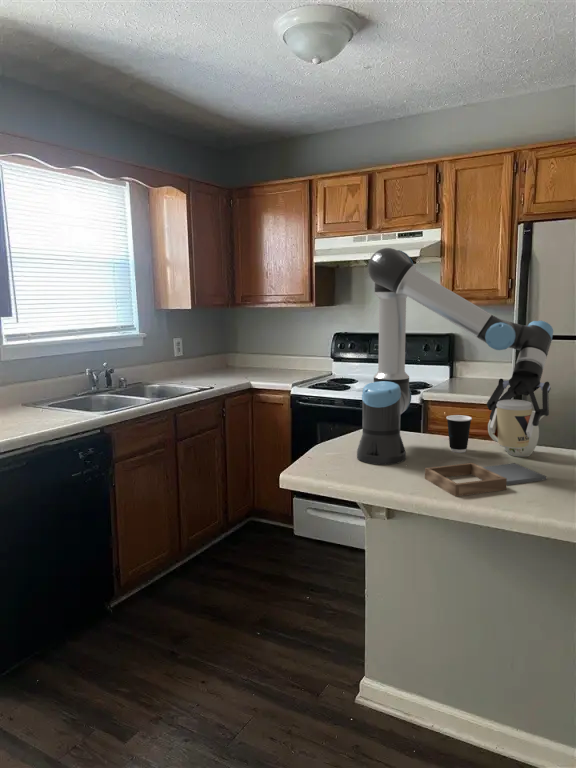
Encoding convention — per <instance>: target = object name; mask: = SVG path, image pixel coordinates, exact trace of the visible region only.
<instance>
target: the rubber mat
mask: <svg viewBox="0 0 576 768" xmlns="http://www.w3.org/2000/svg"><path fill="white" fill-rule="evenodd" d="M482 467H483V468H485V469H487V470H489V471H491V472H493V473H496V474H498V475H500V476H502V477H504V478H506V479H507V483H506V486H511V485H516V484H524V483H533V481H534V482H540V481H546V480H547V476H546V475H545V474H542V473H540V472H538V471H535V470H533V469H529V468H528V467H526V466H522V465H521V464H518V463H515V462H514V463H513V462H512V463H505V464H497V465H495V464H494V465H487V466H482Z"/></svg>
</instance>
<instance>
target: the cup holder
mask: <svg viewBox="0 0 576 768" xmlns="http://www.w3.org/2000/svg"><path fill="white" fill-rule="evenodd" d="M483 467H484V466H481V465H478V464H476V463H474V462H468V463H458V464H457V463H456V464H450V465H442V466H441V465H440V466H432V467H425V468H424V479H425V480H427V481H428V482H430V483H431V484H433V485H434V486H436V487H438V488H440V489H442V490H443V491H445V492H447V493H449V494H450V495H452V496H454V497H455V498H456V497H462V496H463V497H465V496H470V495H477V494H484V493H485V492H486V493H492V492H499V491H506V490H507V485H506V483H507V479H506V478H504V477H502V476H500V475H498V474H496V473H493V472H491V471H489V470H487V469H485V468H483ZM460 475H461V476H466V475H467V476H469V475H471V476H474V477H476V478H477V479H478V480H475V481H464V482H459V483H458V482H455V481H453V480H451V479H449V478H452V477H451V476H453V477H459V476H460ZM479 479H480V480H479ZM481 479H482V480H481ZM486 493H485V494H486Z"/></svg>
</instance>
